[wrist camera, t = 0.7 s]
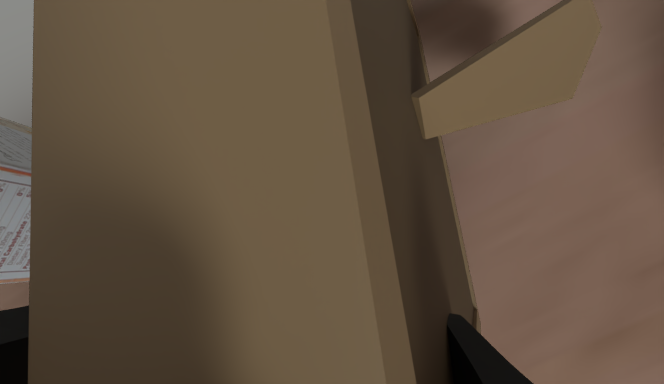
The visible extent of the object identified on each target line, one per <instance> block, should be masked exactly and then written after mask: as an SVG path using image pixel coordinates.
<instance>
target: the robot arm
mask: <svg viewBox="0 0 664 384" xmlns="http://www.w3.org/2000/svg"><path fill="white" fill-rule="evenodd" d="M447 331H448V339H449V348H450V356H451V364H452V373H453V381H454V384H533V383H532V382H531V381H530V380H528V379H527V378H526V377H525V376H524V375H523V374H521V373H520V372H519V371H518V370H517V369H516V368H515V367H514V366H513V365H512V364H510V363H509V362H508V361H507V360H506V359H505V358H504V357H503V356H502V355H501V354H500V353H499V352H498V351H497V350H496V349H495V348H494V347H493V346H492V345H491V344H490V343H489V342H488V341H487V340H486V339H485V338H484V337H483V336H482V335H481V334H480V333H479V332H478V331H477V330H476V329H475V328H474V327H473V326H472V325H471V324H470V323H469V322H468V321H467V320H466V319H465V318H463V317H462V316H461V315H458V314H452V313H449V316H448V320H447ZM28 345H29V306H25V307H20V308H15V309H9V310H2V311H0V384H28Z"/></svg>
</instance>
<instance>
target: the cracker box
mask: <svg viewBox="0 0 664 384" xmlns="http://www.w3.org/2000/svg"><path fill="white" fill-rule="evenodd" d="M31 157H32V128H31V127H28V126H25V125H22V124H19V123H16V122H13V121H10V120H7V119H5V118H2V117H0V284H4V283H16V282H27V281H30V220H31Z"/></svg>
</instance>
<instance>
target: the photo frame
mask: <svg viewBox="0 0 664 384" xmlns="http://www.w3.org/2000/svg"><path fill="white" fill-rule="evenodd" d="M601 28H602V26H601V24H600V21H599V18H598V15H597V13H596V10H595V7H594V4H593V2H592V0H563V1H561V2H560V3H558V4H556V5H555V6H553V7H551V8H550V9H548V10H547V11H545V12H543V13H542V14H540V15H539V16H537V17H535V18H534V19H532V20H530V21H529V22H527V23H526V24H524V25H522V26H521V27H519V28H518V29H516V30H514V31H513V32H511V33H509V34H508V35H506V36H505V37H503V38H501V39H500V40H498V41H497V42H495V43H493V44H492V45H490V46H488V47H487V48H485V49H484V50H482V51H480V52H479V53H477V54H476V55H474V56H472V57H471V58H469V59H467V60H466V61H464V62H463V63H461V64H459V65H458V66H456V67H455V68H453V69H451V70H450V71H448V72H446V73H445V74H443V75H442V76H440V77H438V78H437V79H435V80H434V81H432V82H430V80H429V75H428V71H427V66H426V61H425V56H424V51H423V47H422V42H421V37H420V32H419V28H418V25H417V21H416V18H415V14H414V10H413V7H412V3H411V0H34V33H33V96H32V97H33V98H32V157H31V220H30V282H29V345H28V384H454V381H453V373H452V364H451V356H450V348H449V339H448V331H447V320H448V316H449V313H452V314H458V315H461V316H462V317H463V318H465V319H466V320H467V321H468V322H469V323H470V324H471V325H472V326H473V327H474V328H475V329H476V330H477V331H478V332H479V333H480V334H481V323H480V318H479V313H478V309H477V304H476V299H475V294H474V290H473V285H472V280H471V275H470V270H469V266H468V261H467V256H466V251H465V247H464V242H463V237H462V232H461V228H460V223H459V218H458V213H457V209H456V204H455V199H454V194H453V190H452V185H451V180H450V175H449V170H448V166H447V161H446V156H445V151H444V147H443V142H442V137H441V135H444V134H447V133H451V132H455V131H458V130H462V129H465V128H469V127H472V126H476V125H480V124H483V123H487V122H490V121H494V120H498V119H501V118H505V117H508V116H512V115H516V114H519V113H523V112H526V111H530V110H534V109H537V108H541V107H544V106H548V105H551V104H555V103H559V102H562V101H566V100H569V99H572V98H573V96H574V93H575V91H576V89H577V86H578V84H579V81H580V79H581V76H582V74H583V72H584V69H585V67H586V64H587V62H588V59H589V57H590V55H591V52H592V50H593V47H594V45H595V42H596V40H597V38H598V35H599V33H600V30H601Z"/></svg>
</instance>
